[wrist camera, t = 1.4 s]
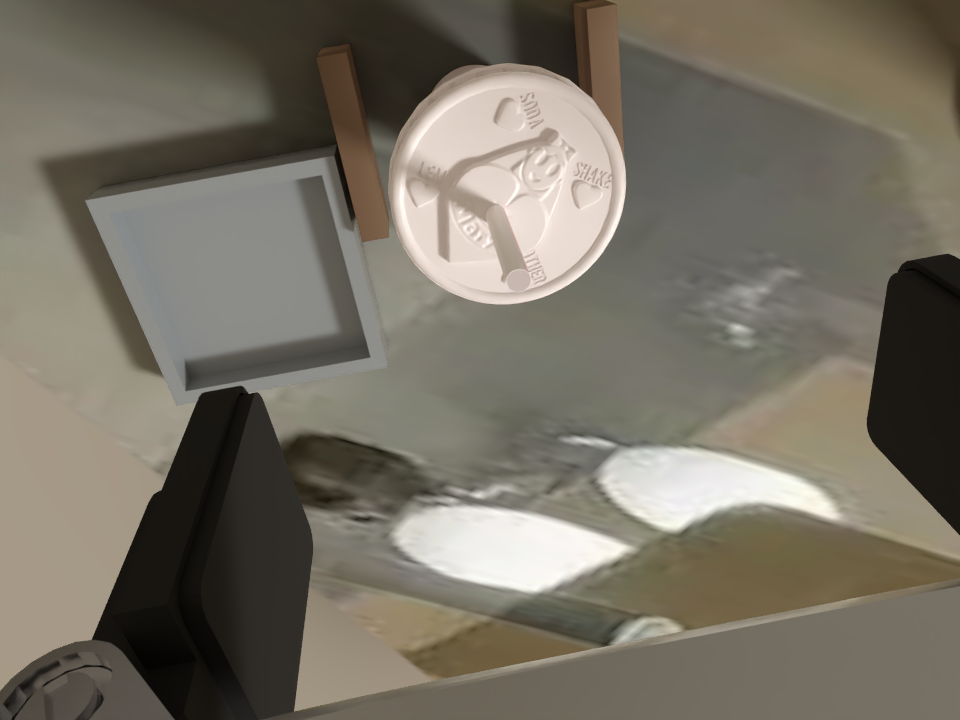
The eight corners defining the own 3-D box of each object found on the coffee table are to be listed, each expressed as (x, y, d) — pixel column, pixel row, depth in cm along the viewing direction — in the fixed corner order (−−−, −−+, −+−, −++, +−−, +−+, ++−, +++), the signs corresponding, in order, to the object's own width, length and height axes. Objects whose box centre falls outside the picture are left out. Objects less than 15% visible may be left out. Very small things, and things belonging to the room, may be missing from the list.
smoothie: (353, 120, 27) (321, 272, 15) (473, -19, 25) (546, 30, 13) (476, 231, 30) (531, 435, 18) (593, 113, 28) (743, 253, 16)
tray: (337, 144, 28) (334, 155, 26) (388, 348, 32) (387, 367, 31) (100, 187, 28) (84, 200, 26) (185, 385, 32) (176, 405, 31)
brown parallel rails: (600, -2, 26) (616, 4, 24) (611, 177, 29) (625, 194, 27) (321, 48, 26) (315, 57, 24) (364, 221, 29) (362, 242, 27)
